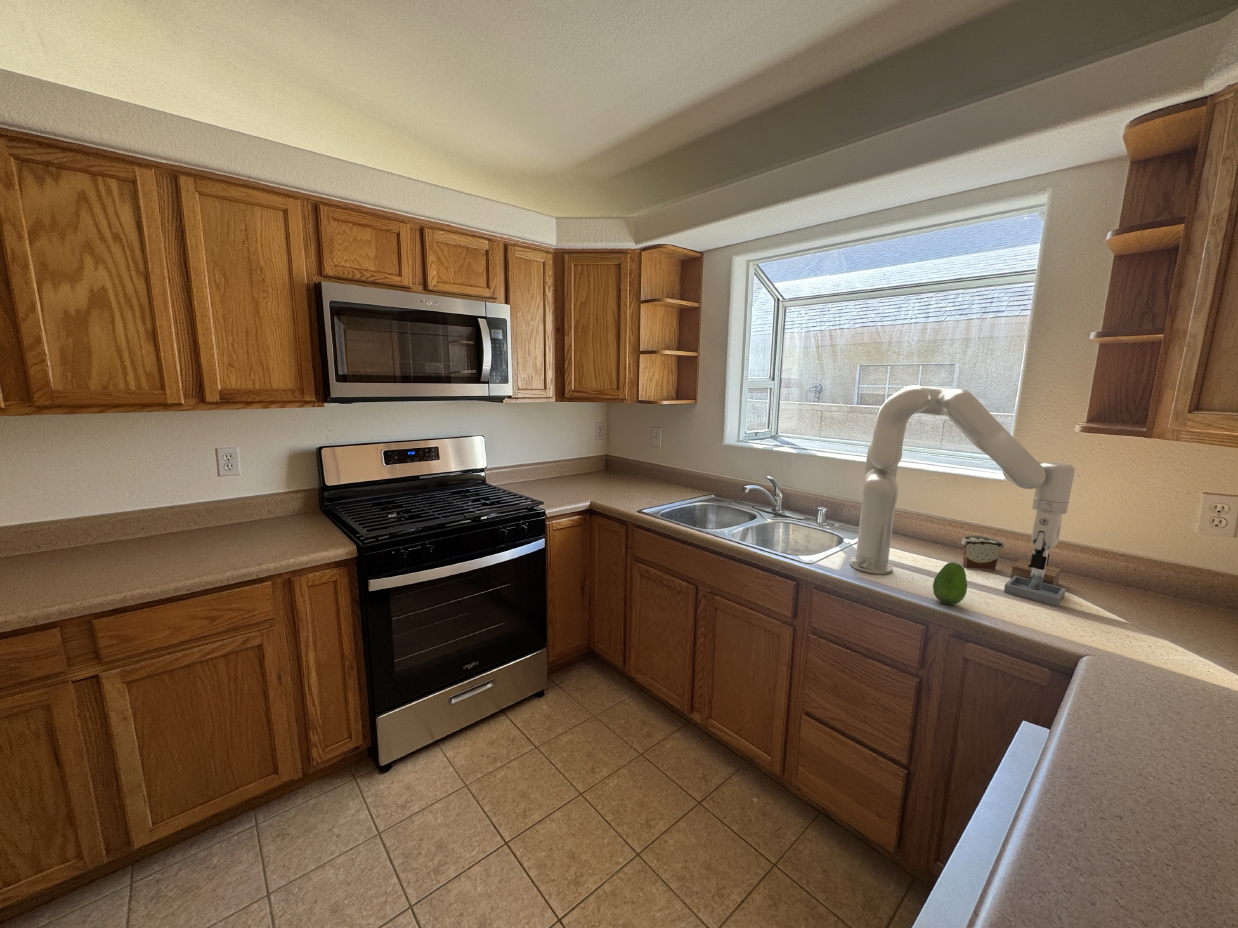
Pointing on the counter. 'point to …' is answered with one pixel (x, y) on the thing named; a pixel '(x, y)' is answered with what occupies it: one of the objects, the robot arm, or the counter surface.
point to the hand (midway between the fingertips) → (1038, 566)
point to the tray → (1035, 591)
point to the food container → (981, 552)
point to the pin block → (1024, 571)
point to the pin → (1037, 577)
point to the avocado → (950, 584)
